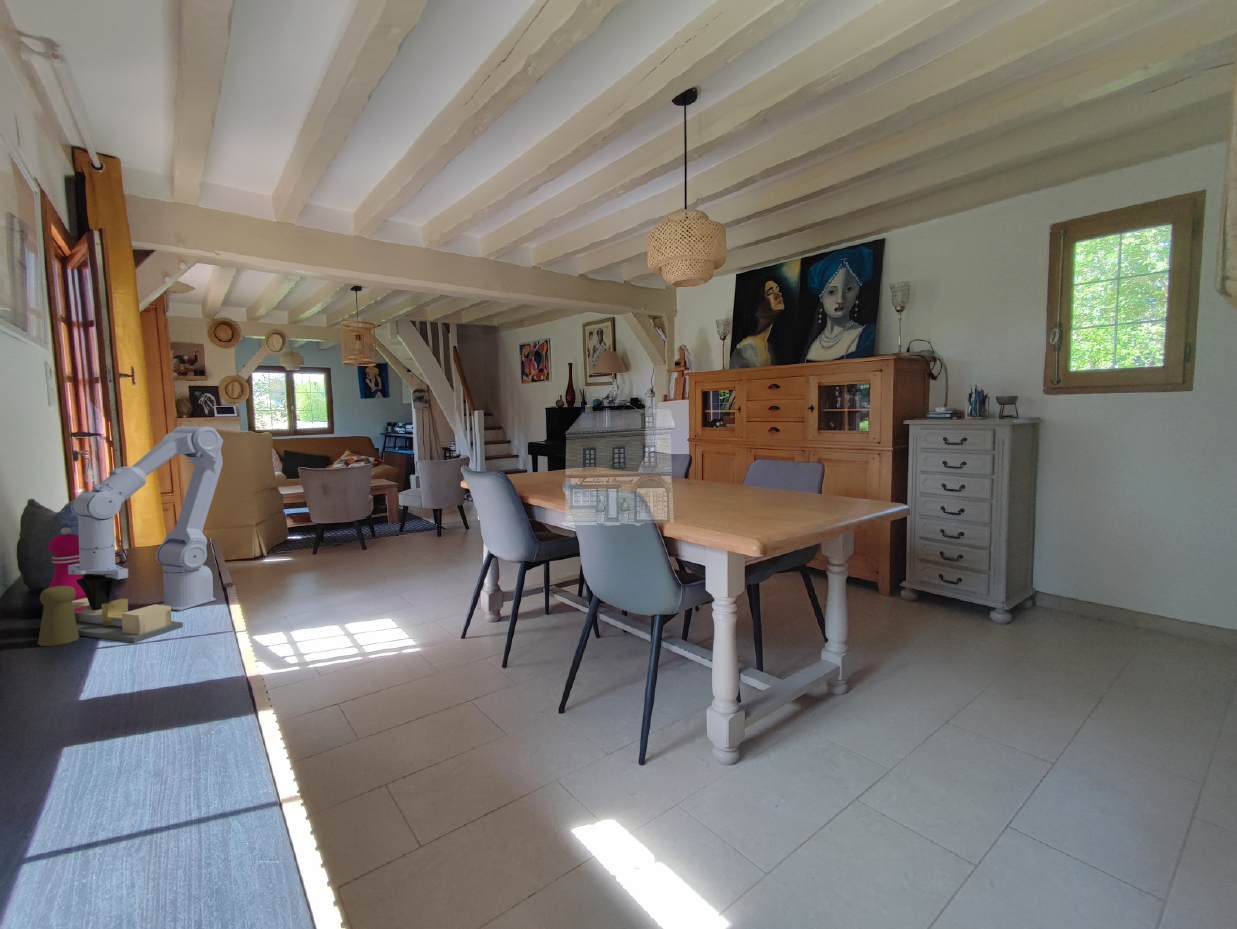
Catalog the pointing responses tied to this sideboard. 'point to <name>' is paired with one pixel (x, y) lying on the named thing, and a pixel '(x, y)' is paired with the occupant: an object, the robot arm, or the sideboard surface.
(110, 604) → the rod
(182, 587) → the robot arm
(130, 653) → the sideboard surface
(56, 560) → the pepper mill
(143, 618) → the jig board
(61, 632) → the cork
